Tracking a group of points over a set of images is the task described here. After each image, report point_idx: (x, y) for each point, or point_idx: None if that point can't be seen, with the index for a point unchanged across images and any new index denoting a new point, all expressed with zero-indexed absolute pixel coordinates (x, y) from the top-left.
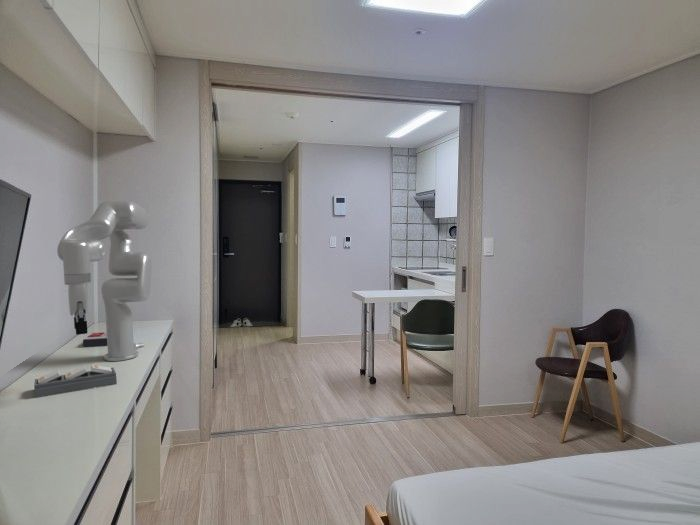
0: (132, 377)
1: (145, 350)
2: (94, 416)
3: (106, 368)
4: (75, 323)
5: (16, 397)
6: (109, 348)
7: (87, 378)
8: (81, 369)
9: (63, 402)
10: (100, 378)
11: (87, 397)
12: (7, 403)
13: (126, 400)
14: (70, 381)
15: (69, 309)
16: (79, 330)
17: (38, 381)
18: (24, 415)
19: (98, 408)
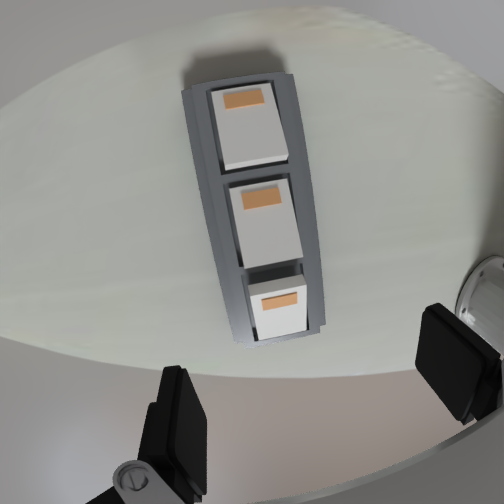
0: (284, 360)
1: None
2: (7, 295)
3: (280, 325)
4: (148, 445)
5: (218, 40)
6: (500, 286)
7: (226, 264)
8: (259, 251)
9: (102, 201)
10: (233, 300)
11: (126, 264)
12: (164, 33)
13: (85, 355)
14: (214, 206)
15: (475, 485)
16: (150, 410)
17: (221, 91)
18: (40, 123)
19: (43, 300)
